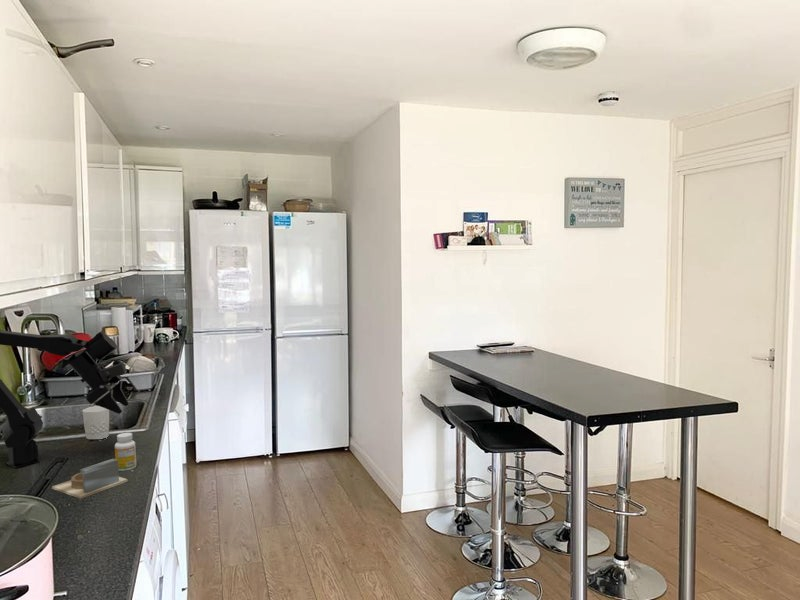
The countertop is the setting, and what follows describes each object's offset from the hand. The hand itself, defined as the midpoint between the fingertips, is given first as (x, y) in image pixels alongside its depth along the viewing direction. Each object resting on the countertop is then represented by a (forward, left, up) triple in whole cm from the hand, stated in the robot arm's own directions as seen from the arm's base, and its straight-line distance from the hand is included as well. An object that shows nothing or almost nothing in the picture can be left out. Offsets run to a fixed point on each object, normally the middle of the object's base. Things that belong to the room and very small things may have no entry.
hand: (124, 408), depth 181 cm
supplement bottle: (-6, -10, -14) cm, 19 cm away
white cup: (+4, +24, -14) cm, 28 cm away
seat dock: (-19, -14, -14) cm, 28 cm away
